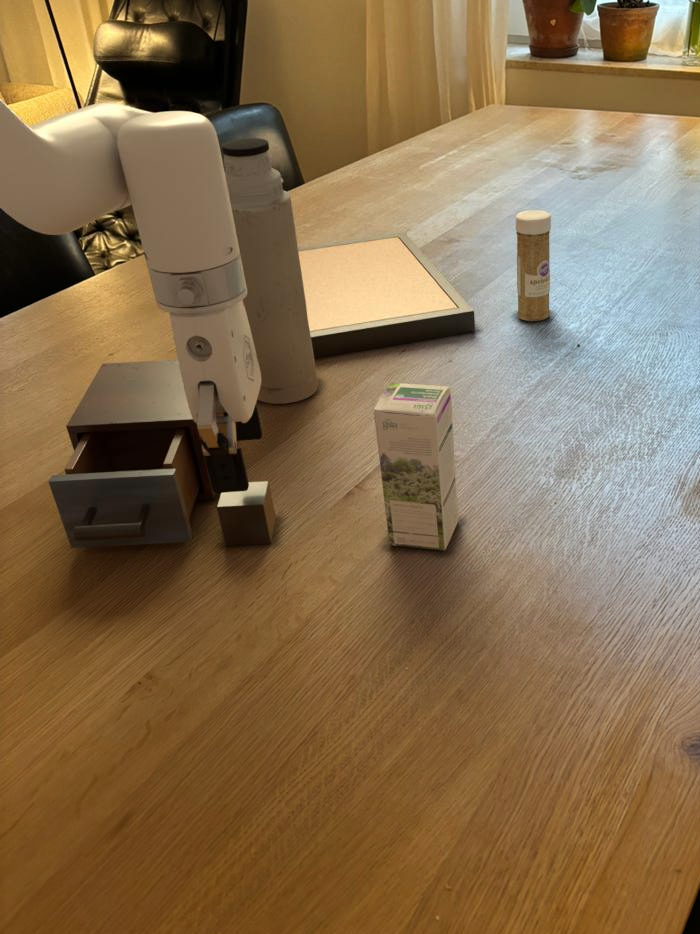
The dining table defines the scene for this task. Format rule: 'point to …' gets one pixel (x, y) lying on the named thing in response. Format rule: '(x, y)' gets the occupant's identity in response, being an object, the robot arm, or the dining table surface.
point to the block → (247, 515)
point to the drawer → (129, 488)
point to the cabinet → (139, 406)
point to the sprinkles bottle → (533, 264)
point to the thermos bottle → (270, 272)
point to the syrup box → (417, 464)
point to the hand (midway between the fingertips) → (239, 463)
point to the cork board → (377, 296)
